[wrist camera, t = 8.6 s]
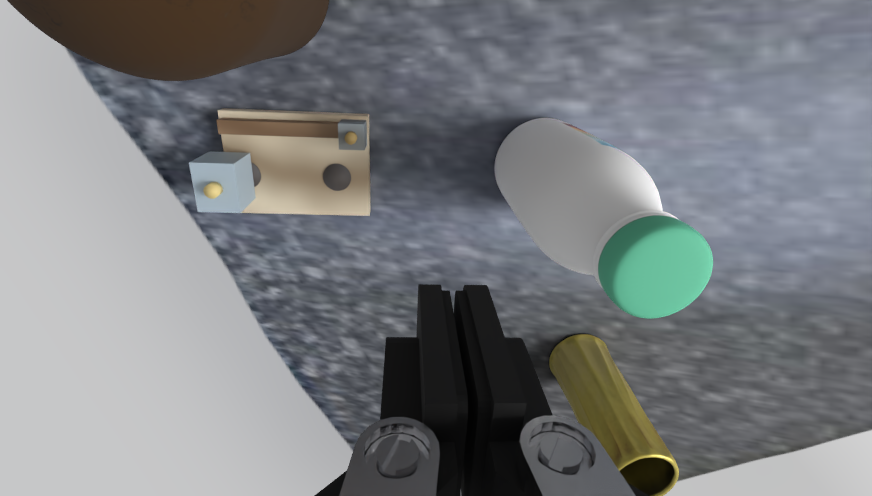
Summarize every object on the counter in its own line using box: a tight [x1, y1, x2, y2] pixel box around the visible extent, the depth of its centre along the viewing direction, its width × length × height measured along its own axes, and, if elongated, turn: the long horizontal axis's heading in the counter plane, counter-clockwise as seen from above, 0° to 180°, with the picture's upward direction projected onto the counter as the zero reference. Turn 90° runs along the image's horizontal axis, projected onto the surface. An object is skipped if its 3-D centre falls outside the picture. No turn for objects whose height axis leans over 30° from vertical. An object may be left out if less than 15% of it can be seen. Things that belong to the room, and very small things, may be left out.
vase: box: [549, 334, 679, 496], centre depth 39 cm, size 6×6×14 cm
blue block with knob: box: [189, 151, 256, 213], centre depth 33 cm, size 4×3×4 cm
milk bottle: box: [494, 118, 713, 318], centre depth 28 cm, size 8×8×20 cm
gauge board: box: [217, 108, 371, 216], centre depth 34 cm, size 8×11×5 cm
